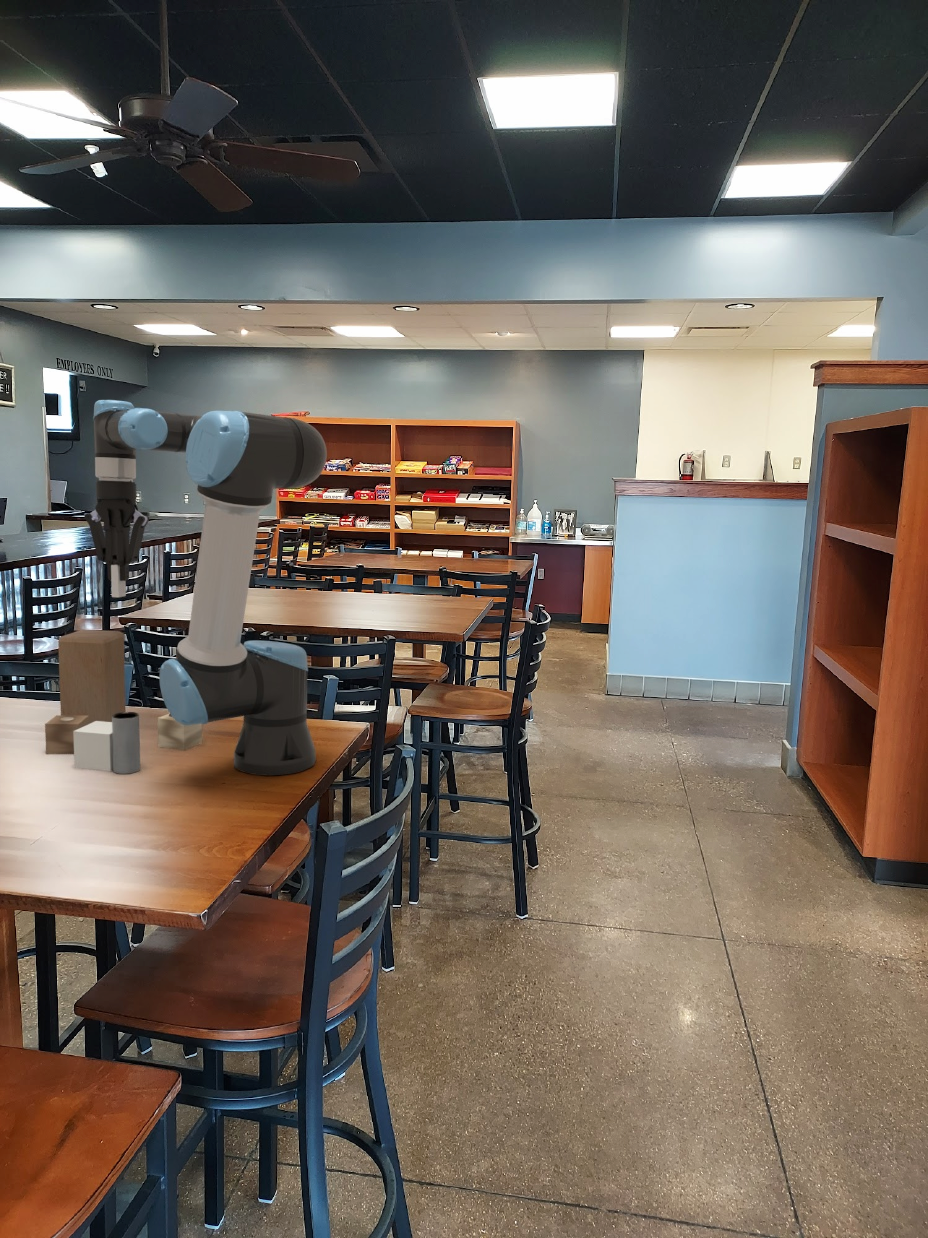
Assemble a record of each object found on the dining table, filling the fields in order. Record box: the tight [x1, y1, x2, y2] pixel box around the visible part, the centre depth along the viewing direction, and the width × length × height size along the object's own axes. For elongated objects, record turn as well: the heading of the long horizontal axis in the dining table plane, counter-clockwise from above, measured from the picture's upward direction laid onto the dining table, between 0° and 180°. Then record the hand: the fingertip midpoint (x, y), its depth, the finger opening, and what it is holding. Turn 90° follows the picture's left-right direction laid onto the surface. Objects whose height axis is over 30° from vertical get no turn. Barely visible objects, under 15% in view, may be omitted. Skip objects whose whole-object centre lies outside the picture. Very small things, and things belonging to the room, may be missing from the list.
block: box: [57, 629, 127, 724], centre depth 172 cm, size 10×10×20 cm
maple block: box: [157, 713, 203, 752], centre depth 163 cm, size 6×6×6 cm
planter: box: [112, 711, 141, 775], centre depth 146 cm, size 4×4×10 cm
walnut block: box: [44, 714, 89, 755], centre depth 157 cm, size 6×6×6 cm
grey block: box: [73, 721, 113, 772], centre depth 150 cm, size 7×7×7 cm
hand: (118, 596), depth 167 cm, fingers closed
